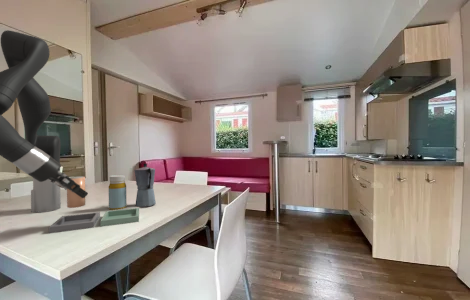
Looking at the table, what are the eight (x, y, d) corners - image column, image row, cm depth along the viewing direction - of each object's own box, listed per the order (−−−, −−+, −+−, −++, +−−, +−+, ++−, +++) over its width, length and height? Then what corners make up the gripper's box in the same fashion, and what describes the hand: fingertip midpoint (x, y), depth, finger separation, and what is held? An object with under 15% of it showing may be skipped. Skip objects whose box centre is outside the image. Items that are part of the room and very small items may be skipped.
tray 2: (100, 228, 73) (100, 220, 73) (105, 217, 84) (105, 211, 84) (138, 223, 78) (138, 216, 78) (139, 213, 89) (139, 207, 89)
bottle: (118, 211, 92) (118, 177, 92) (105, 210, 94) (104, 176, 94) (129, 207, 99) (129, 175, 99) (116, 206, 101) (116, 174, 101)
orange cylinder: (64, 208, 72) (64, 178, 72) (69, 204, 77) (69, 176, 77) (83, 206, 74) (83, 178, 74) (86, 203, 79) (86, 175, 79)
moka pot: (150, 200, 111) (149, 162, 111) (162, 206, 100) (162, 164, 100) (130, 204, 105) (130, 163, 105) (141, 210, 93) (141, 165, 93)
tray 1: (49, 235, 68) (49, 227, 68) (62, 222, 79) (62, 216, 79) (93, 229, 73) (93, 221, 73) (100, 218, 84) (100, 212, 84)
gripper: (55, 156, 65) (99, 188, 75) (42, 154, 73) (83, 184, 83) (32, 175, 61) (81, 207, 71) (20, 171, 69) (66, 200, 79)
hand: (82, 194), depth 77 cm, fingers closed on orange cylinder, 5 cm apart
